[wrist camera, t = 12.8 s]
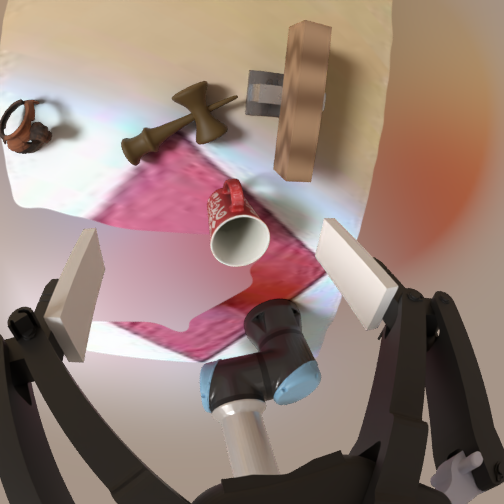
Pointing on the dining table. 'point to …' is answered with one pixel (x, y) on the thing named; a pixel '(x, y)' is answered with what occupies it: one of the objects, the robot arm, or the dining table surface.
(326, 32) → the walnut bar
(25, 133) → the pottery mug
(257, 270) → the dining table surface
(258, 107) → the fulcrum
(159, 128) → the kendama
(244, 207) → the mug
